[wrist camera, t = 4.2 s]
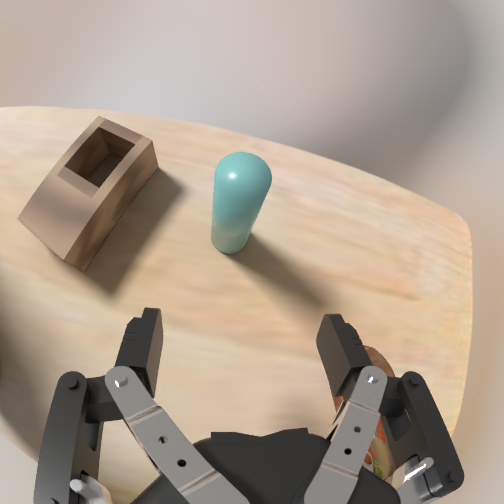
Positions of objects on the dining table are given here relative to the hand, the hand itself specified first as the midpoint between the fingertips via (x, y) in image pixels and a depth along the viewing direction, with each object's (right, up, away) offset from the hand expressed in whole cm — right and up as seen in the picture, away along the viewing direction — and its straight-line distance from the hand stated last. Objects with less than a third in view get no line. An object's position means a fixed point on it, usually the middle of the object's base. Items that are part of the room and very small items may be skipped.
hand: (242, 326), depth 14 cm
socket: (-17, +9, +14) cm, 24 cm away
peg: (-2, +5, +16) cm, 16 cm away
